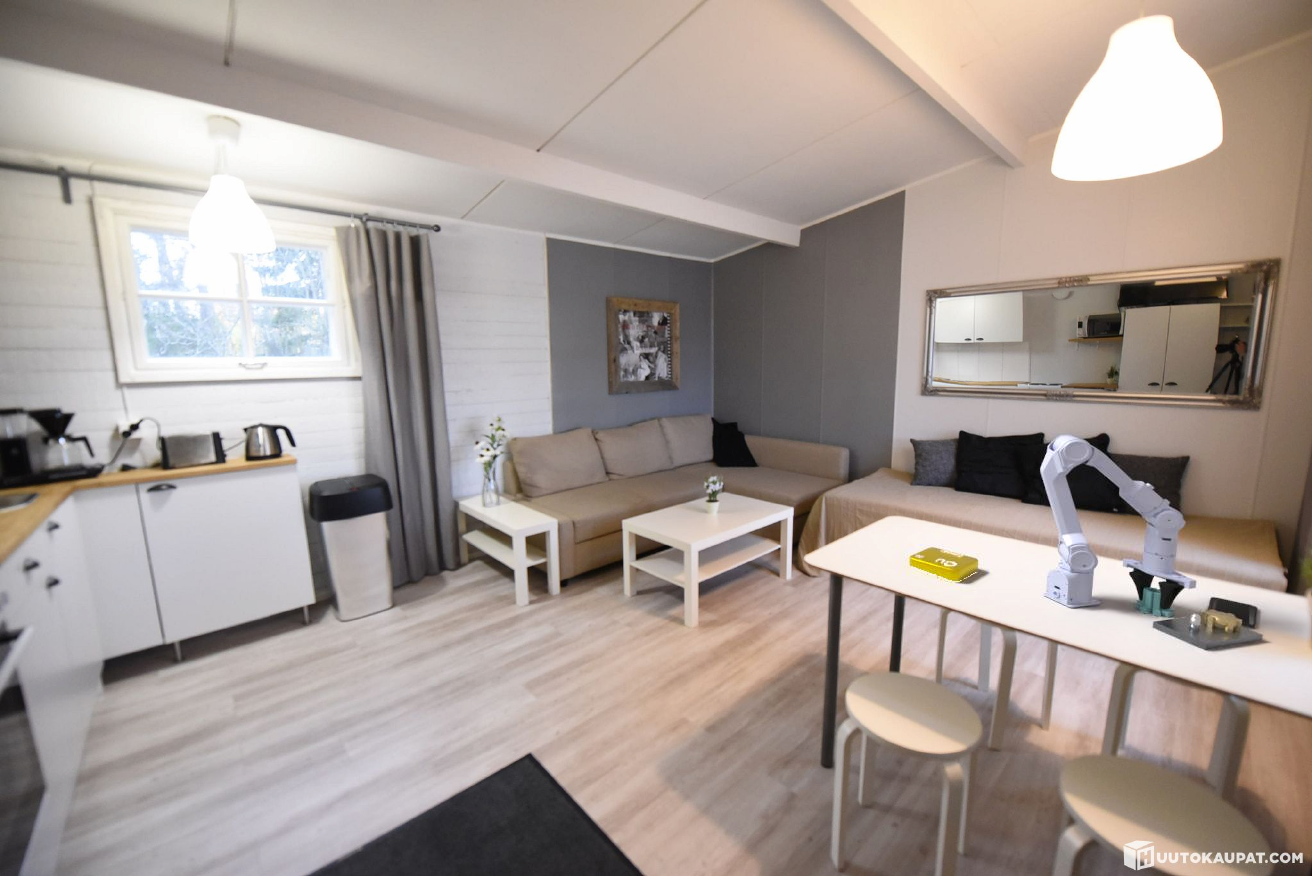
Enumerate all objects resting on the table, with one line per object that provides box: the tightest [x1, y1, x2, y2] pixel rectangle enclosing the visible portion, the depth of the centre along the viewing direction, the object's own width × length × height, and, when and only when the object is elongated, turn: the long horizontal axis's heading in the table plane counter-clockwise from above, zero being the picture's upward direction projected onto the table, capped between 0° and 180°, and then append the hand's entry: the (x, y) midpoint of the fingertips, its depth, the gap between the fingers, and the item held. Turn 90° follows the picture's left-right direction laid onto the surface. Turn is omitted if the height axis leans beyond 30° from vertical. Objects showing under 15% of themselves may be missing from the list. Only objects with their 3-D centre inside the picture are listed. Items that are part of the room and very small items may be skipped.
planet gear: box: [1134, 586, 1175, 618], centre depth 126 cm, size 7×7×5 cm
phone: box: [1206, 596, 1258, 630], centre depth 124 cm, size 8×1×15 cm
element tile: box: [908, 546, 979, 581], centre depth 156 cm, size 15×15×5 cm
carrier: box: [1152, 609, 1264, 651], centre depth 115 cm, size 16×10×5 cm, turn 100°
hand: (1154, 604), depth 126 cm, fingers closed on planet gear, 4 cm apart
